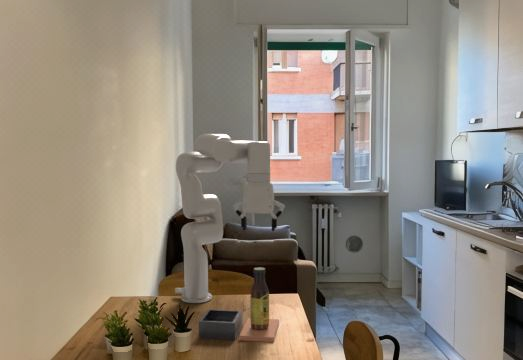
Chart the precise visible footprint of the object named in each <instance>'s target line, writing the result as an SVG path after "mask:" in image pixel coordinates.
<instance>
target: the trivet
mask: <svg viewBox="0 0 523 360" xmlns="http://www.w3.org/2000/svg"><path fill="white" fill-rule="evenodd" d="M279 325H280V319H276V318H275V319H274V318H269V326H268V328H266V329H262V330H257V329H253V328H252V327H251V317H248V318H247V319H246V321H245V324H244V326H243V327H242V330H241V331H240V334H239V341H246V342H248V341H250V342H267V343H274V342H275V339H276V335H277V331H278V328H279Z"/></svg>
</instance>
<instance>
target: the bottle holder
mask: <svg viewBox="0 0 523 360" xmlns="http://www.w3.org/2000/svg"><path fill="white" fill-rule="evenodd" d="M242 328H243V310H241V309H240V310H235V309H234V310H233V309H216V308H215V309H214V308H207V310H206V311H205V312H204V313H203V314H202V316H201V318H200V319H199V320H198V339H209V340H211V339H213V340H215V339H216V340H225V341H226V340H231V341H232V340H233V341H235V340H236V339H237V337H238V335H239V332H241V329H242Z"/></svg>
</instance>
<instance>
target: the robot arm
mask: <svg viewBox="0 0 523 360" xmlns="http://www.w3.org/2000/svg"><path fill="white" fill-rule="evenodd" d="M194 142H195V143H194V147H195V150H196V151H187V152H183V153H181V154H179V155H178V156H177V158H176V161H175V172H176V176H177V180H178V182H179V184H180V196H181V206H182V212H183V215H184V217H186V218H187V219H190V220H191V219H192V220H193V219H203V218H206V219H207V220H200V221H199V220H198V221H192V222H187V223H186V224H184V225H183V226H182V227H181V231H180V237H181V242H182V247H183V267H184V269H183V270H184V271H183V274H184V277H183V279H184V282H183V283H184V287H175V288H174V292H175V294H177V295H178V294H181V296H180V301H181V302H183V303H188V304H201V303H207V302H208V301H210V300H212V298H213V295H212V293H210V292H209V272H208V271H209V268H208V267H209V260H208V252H207V251H206V250H205V248H204V247H203V245H207V244H208V245H210V244H215V243H220V242H221V240H222V239H223V236H224V224H223V222H224V221H223V213H222V212H223V211H222V203H221V201H220V200H219V199H220V198H219V197H218V196H217V195H216V194H211V193H206V194H203V187H202V183H201V180H200V179H199V177H198V176H197V175H196V173H197V174H198V173H200V174H201V173H203V174H204V173H215V172H217V171H219V170H220V169H221V167H222V166H223V164H224V163H225V164H247V166H246V167H247V171H246V174H243V176H242V179H243V180H246V182H245V183H244V187H243V193H242V194H243V197H242V198H243V199H242V200H240V201H238V202H236V203H234V204H233V205H232V208H233V209H234V211H235V213H236V214H237V216H238V217H239V218H240V222H241V223H240V226H241V228H242V230H243V231H246V230H247V228H248V227H247V226H248V224H247V221H248V219H247V217H246V216H247V215H248V214H253V215H254V214H257V215H259V214H262V215H263V214H264V215H267V214H269V216H271V217H272V218H271V231H272V232H274V231H275V230H276V229H277V228H278V218H279V217H280V216H281V215H282V213H283V211H284V210H285V208H286V205H285V204H284V203H281V202H279V201H278V200H275V194H274V192H275V191H274V186H273V183H272V182H271V144H270V142H268V141H264V140H263V141H261V140H259V141H258V140H257V141H255V140H233V139H232V138H231V137H230V136H229V135H228V134H225V133H204V134H201V135H199V136H198V137H197V138H196V140H195V141H194ZM240 206H242V210H241V209H240ZM275 207H278V208H279V209H278V211H277V212H276V211H275ZM242 211H243V212H242Z"/></svg>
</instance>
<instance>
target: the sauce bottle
mask: <svg viewBox="0 0 523 360" xmlns="http://www.w3.org/2000/svg"><path fill="white" fill-rule="evenodd" d="M249 298H250V304H249V305H250V308H249V309H250V318H251V327H252V328H253V329H257V330H262V329H266V328H268V326H269V319H270V291H269V288H268V285H267V283H266V268H265V267H262V266H261V267H260V266H259V267H254V268H253V284H251V287H250V297H249Z"/></svg>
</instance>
